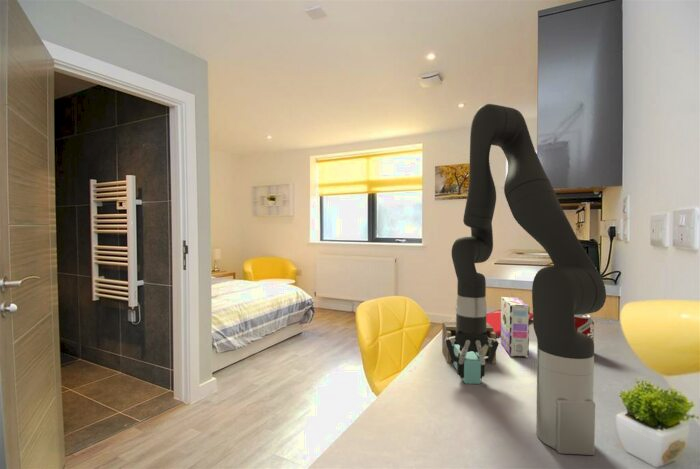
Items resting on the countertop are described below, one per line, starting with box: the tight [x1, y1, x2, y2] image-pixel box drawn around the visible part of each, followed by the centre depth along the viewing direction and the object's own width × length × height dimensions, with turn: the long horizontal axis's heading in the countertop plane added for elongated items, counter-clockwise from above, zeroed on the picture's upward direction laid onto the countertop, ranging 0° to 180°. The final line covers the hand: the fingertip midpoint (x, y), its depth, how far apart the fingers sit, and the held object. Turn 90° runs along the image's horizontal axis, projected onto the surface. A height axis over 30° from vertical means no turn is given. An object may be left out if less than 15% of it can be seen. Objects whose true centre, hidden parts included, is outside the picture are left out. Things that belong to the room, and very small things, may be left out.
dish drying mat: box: [486, 309, 533, 337], centre depth 146 cm, size 16×41×4 cm, turn 131°
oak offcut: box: [474, 344, 489, 356], centre depth 110 cm, size 6×4×5 cm, turn 175°
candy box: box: [500, 296, 530, 359], centre depth 117 cm, size 14×6×16 cm, turn 168°
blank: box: [453, 344, 482, 385], centre depth 98 cm, size 12×4×6 cm, turn 177°
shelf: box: [441, 321, 497, 365], centre depth 110 cm, size 9×14×10 cm, turn 85°
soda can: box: [574, 314, 595, 343], centre depth 115 cm, size 7×7×12 cm
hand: (470, 376), depth 94 cm, fingers closed on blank, 4 cm apart
